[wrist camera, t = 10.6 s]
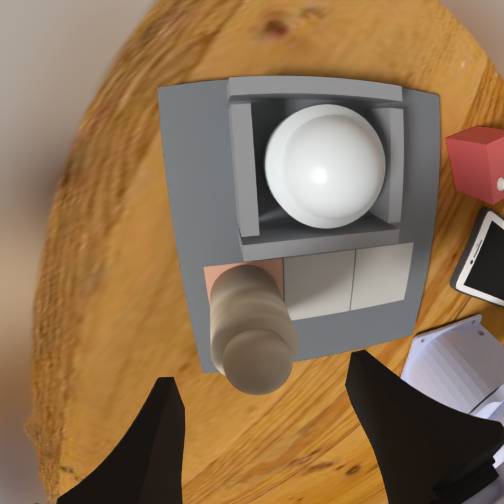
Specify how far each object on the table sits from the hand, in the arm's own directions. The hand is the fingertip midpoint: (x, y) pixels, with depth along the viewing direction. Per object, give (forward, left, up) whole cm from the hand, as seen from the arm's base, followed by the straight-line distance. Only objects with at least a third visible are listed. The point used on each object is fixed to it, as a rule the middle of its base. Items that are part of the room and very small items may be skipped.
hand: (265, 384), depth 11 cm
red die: (-17, -8, -8) cm, 20 cm away
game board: (-5, -3, -8) cm, 10 cm away
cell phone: (-25, +2, -9) cm, 26 cm away
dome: (-4, -8, -7) cm, 11 cm away
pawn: (0, 0, -7) cm, 7 cm away
